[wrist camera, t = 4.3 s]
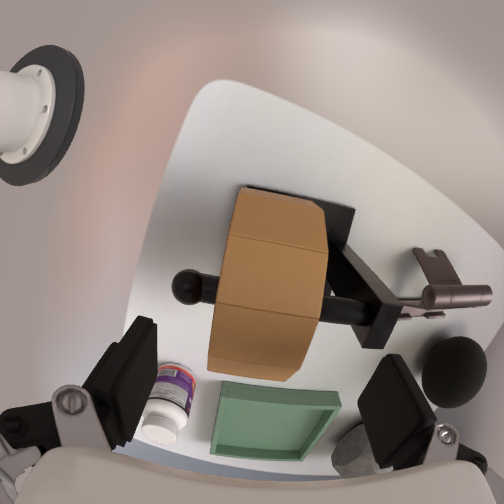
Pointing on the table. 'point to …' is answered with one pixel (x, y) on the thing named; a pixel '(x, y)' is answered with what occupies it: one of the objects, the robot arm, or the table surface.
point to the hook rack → (337, 279)
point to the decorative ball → (454, 372)
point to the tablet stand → (442, 289)
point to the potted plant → (356, 455)
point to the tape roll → (269, 286)
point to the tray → (271, 422)
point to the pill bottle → (169, 403)
